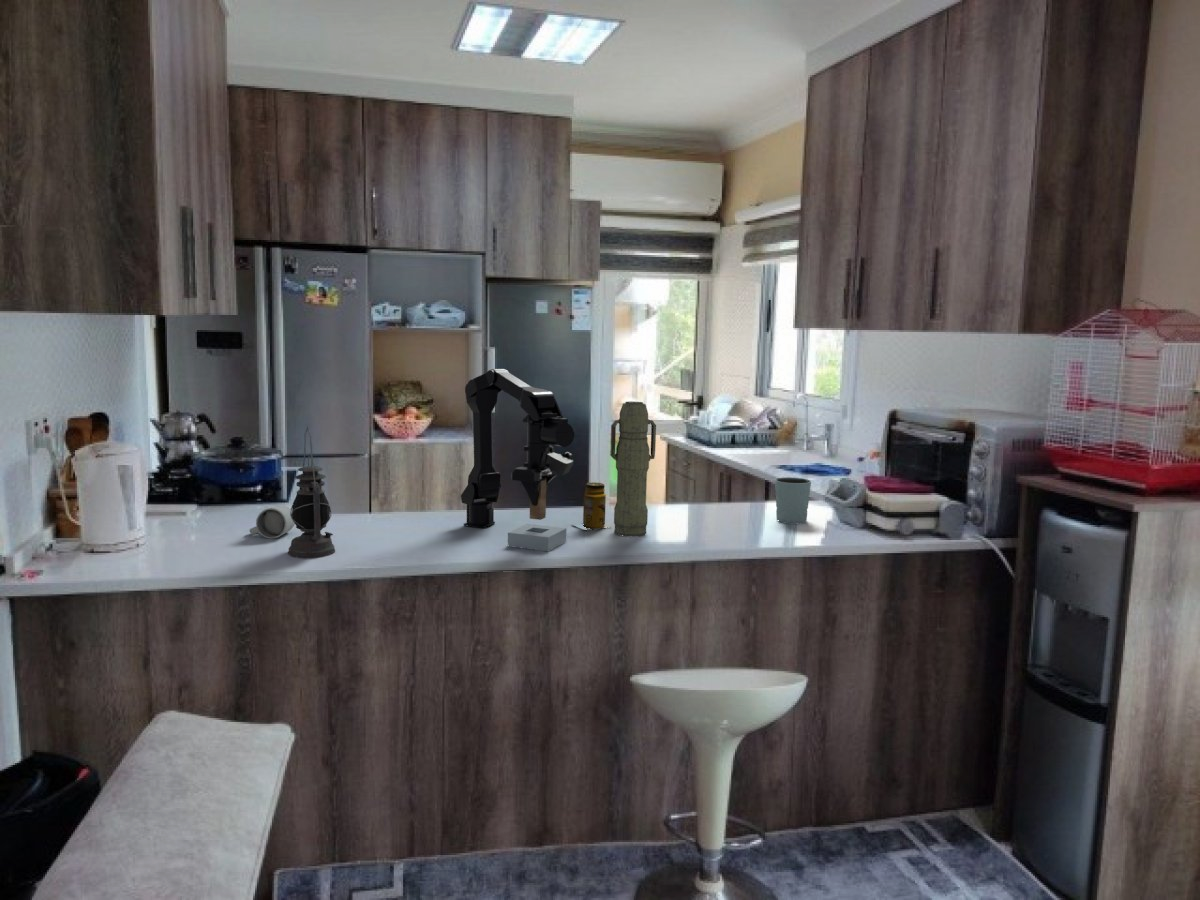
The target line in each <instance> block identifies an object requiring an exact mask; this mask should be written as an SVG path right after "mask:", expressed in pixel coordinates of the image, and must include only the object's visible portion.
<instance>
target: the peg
mask: <svg viewBox="0 0 1200 900" xmlns="http://www.w3.org/2000/svg"><path fill="white" fill-rule="evenodd" d="M541 479H545V481H544V482H543V483H542V484H541V485H540V490H539V497H538V503H537V506H534V505H532V503H531V500H530V499H529V519H531V520H537V521H538V520H539V521H541V520H544V519H545V518H547V517H546V515H547V513H546V512H547V491H546V478H541Z"/></svg>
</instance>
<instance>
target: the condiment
mask: <svg viewBox="0 0 1200 900" xmlns="http://www.w3.org/2000/svg"><path fill="white" fill-rule="evenodd" d="M606 500H607V494H606V493H605V484H604V483H602V482H587V483H586V484H585V492H584V493H583V510H582V511H583V512H582V515H583V516H582V518H583V519H582V524H584V525H583V526H584V527H586V528H590V529H587V531H593V530H592V529H594V530H601V529H600V528H604V527H605V528H606V529H610V528H612V527H611V526H609V525H608V526H607V525H606V503H607V501H606ZM607 527H608V528H607Z"/></svg>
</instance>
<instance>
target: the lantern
mask: <svg viewBox="0 0 1200 900" xmlns="http://www.w3.org/2000/svg"><path fill="white" fill-rule="evenodd" d="M307 432H308V435H309V443H310V444H309V445H310V455H308V456H307V457H308V458H307V465H305V463H306V462H305V461H306V451H307V450H306V443H307V442H306V440H307V439H306V436H307ZM303 439H304V440H303V441H304V446H303V450H304V451H303V453H304V454H303V461H302V462H303V463H302V466H301V467H299V468H297V471H298V472H302V473H300V474H298V475H296V476H295V477H294V479H296V480H299V481H297V482H296V483H295V484H296V485H295V486H296V487H299V489H298V490H296V496H295V498H294V500H293V502H292V504H291V507H290V509H291V511H292V514H291V512H290V515H291V518H292V520H293V522H294V523H295V525H294V526H295V528H296V529H297V530H300V531H301V532H302V533H301V535H298V536H295V537H294V538H292V540H291V542H290V546H289V547H288V551H287V555H288V556H290V557H293V558H298V559H314V558H315V559H317V558H324V557H327V556H331V555H333V554H335V553H336V549H335V545H334V544H333V541H332V536H334V534H333V533H332V532H329V531H324V534H322V533H321V531H322V530H323V529H325V528H327V524H328V523H329V521H330V520H331V518H332V510H331V509H332V508H331V505H330V502H329V500H328V499H327V497H326V495H325V490H324V489H323V488H322V487H324V486H325V485H326V483H325V481H323V479H325V478H326V477H327V476H326V475H324V474H322V473H319V472H322V471H324V470H323V468H322V467H320V466H315V465H314V457H313V445H312V443H313V442H312V435H311V431H310V427H309V425H307V426H306V429H305V431H304V438H303ZM310 461H311V462H310ZM310 463H311V464H310Z"/></svg>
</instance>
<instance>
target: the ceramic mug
mask: <svg viewBox="0 0 1200 900" xmlns="http://www.w3.org/2000/svg"><path fill="white" fill-rule="evenodd" d="M290 512H291V514H292V511H291V507H289V506H286V505H281V504H280V505H275V506H271V507H268V508H265V509H263V510H262V511H261V512H259V514H258V515H257V517H256V521H255V526H254V527H252V528H250V529H249V530H248V531H249V532H250V535H251V536H253V535H256V534H257V533H259V534H260V535H261V536H262V537H264V538H266V539H269V540H270V539H271V540H272V539H277V538H279V537H282V536H283V535H285V534H287V533H288V532H290V531H291V530H292V529H293V527H294V526H296V525H295V523H294V522H293V520H292V518H291V515H290Z"/></svg>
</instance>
